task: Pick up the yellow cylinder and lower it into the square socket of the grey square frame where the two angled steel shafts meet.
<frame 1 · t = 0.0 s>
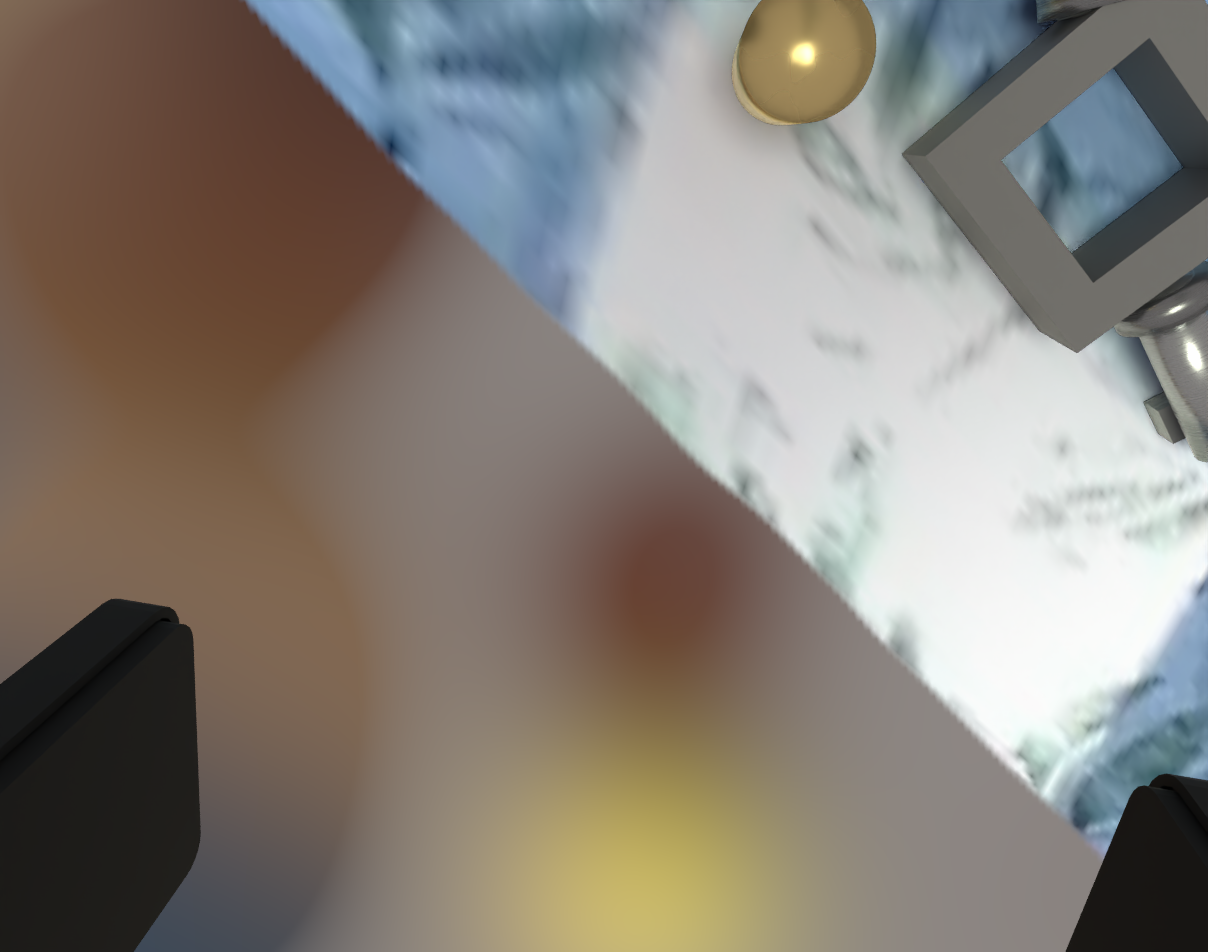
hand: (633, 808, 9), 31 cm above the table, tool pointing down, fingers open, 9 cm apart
yellow cylinder: (784, 69, 35), on the table
shaft a: (1188, 364, 35), on the table
grey square frame: (1075, 162, 35), on the table
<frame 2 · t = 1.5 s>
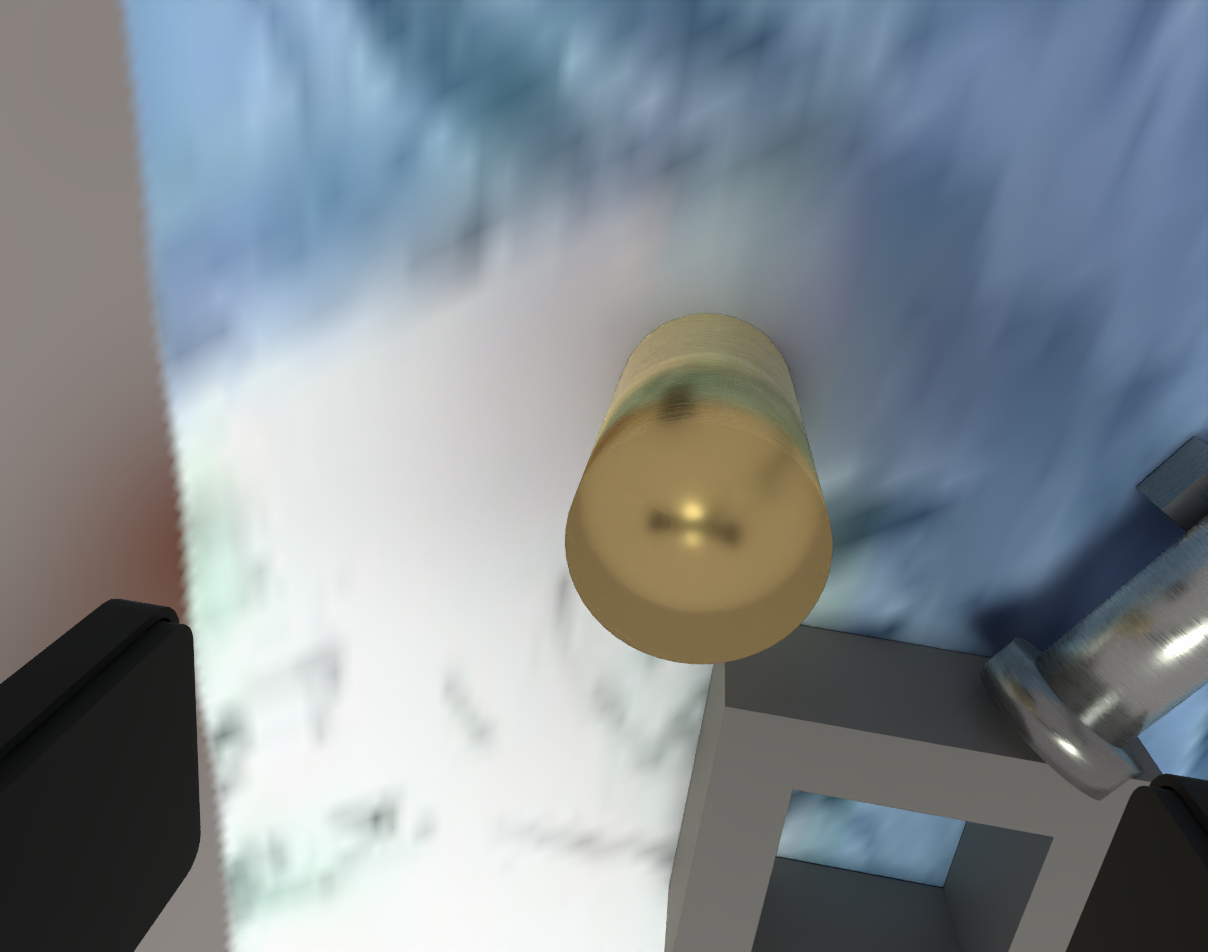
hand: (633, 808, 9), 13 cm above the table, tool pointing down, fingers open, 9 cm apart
yellow cylinder: (705, 399, 21), on the table
grey square frame: (865, 790, 25), on the table
shaft b: (1164, 618, 20), on the table
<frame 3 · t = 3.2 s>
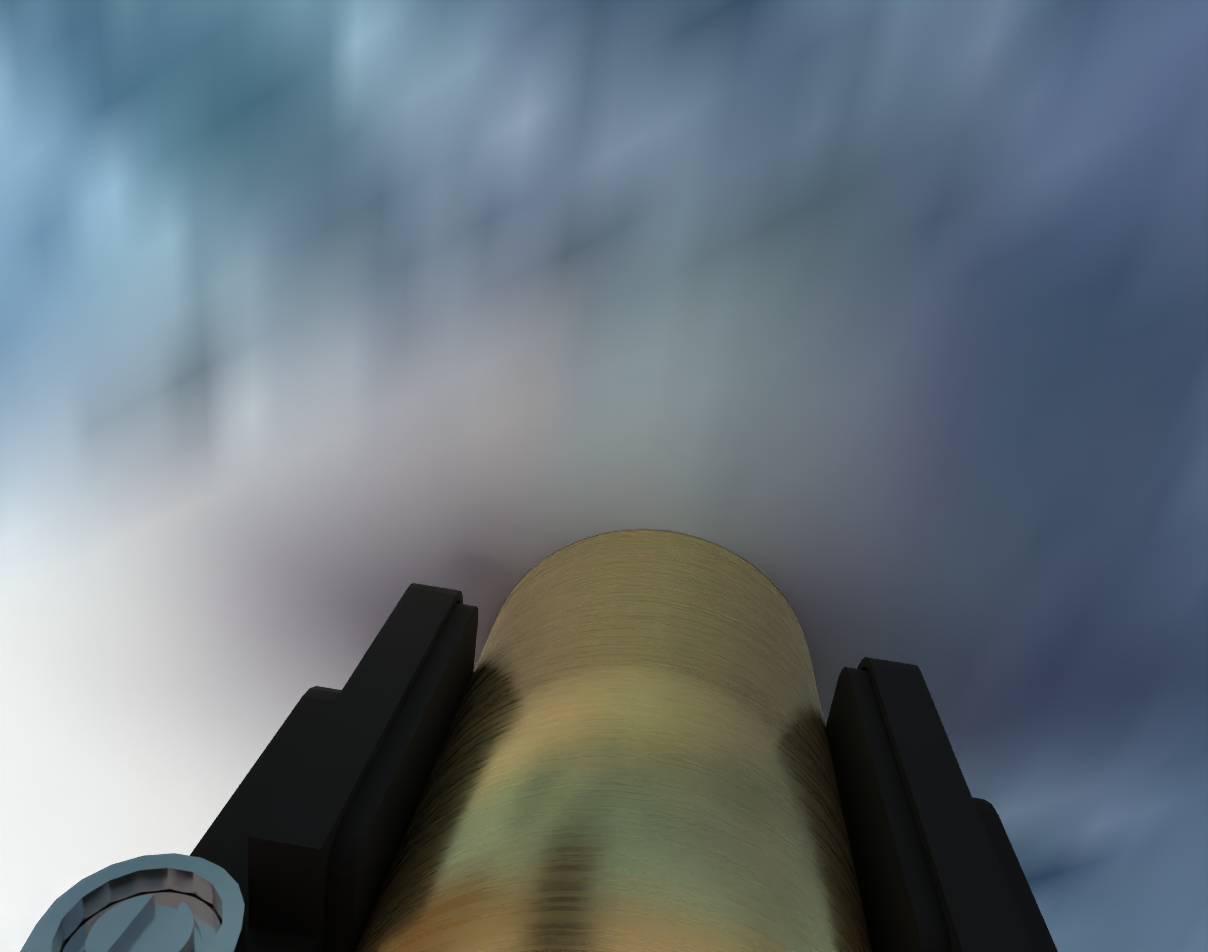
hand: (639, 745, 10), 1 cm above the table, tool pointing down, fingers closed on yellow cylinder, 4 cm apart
yellow cylinder: (646, 678, 11), on the table, touching gripper
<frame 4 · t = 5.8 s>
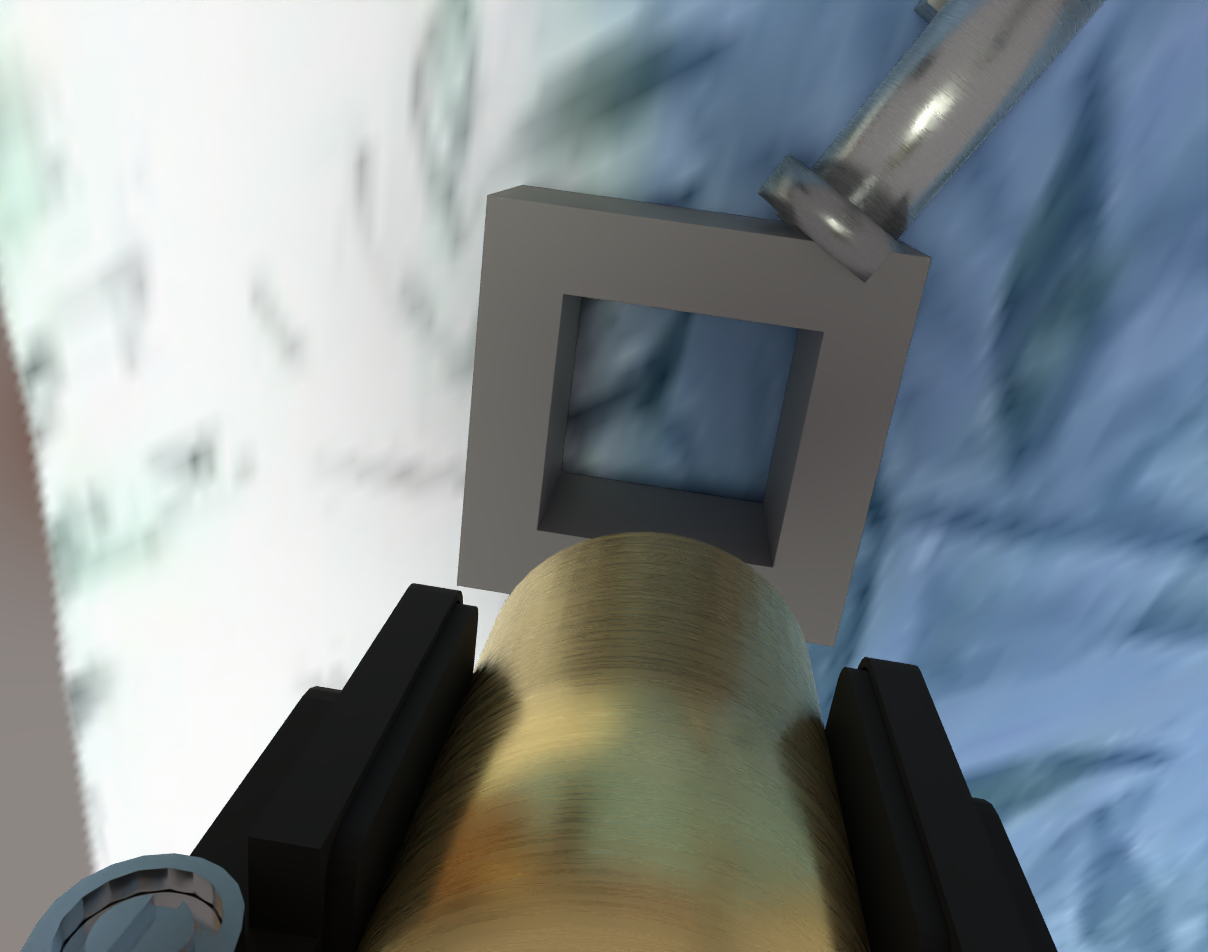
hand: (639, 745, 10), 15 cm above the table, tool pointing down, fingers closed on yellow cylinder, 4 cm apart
yellow cylinder: (646, 679, 11), point 14 cm above the table, touching gripper
grey square frame: (677, 389, 24), on the table
shaft b: (931, 108, 19), on the table
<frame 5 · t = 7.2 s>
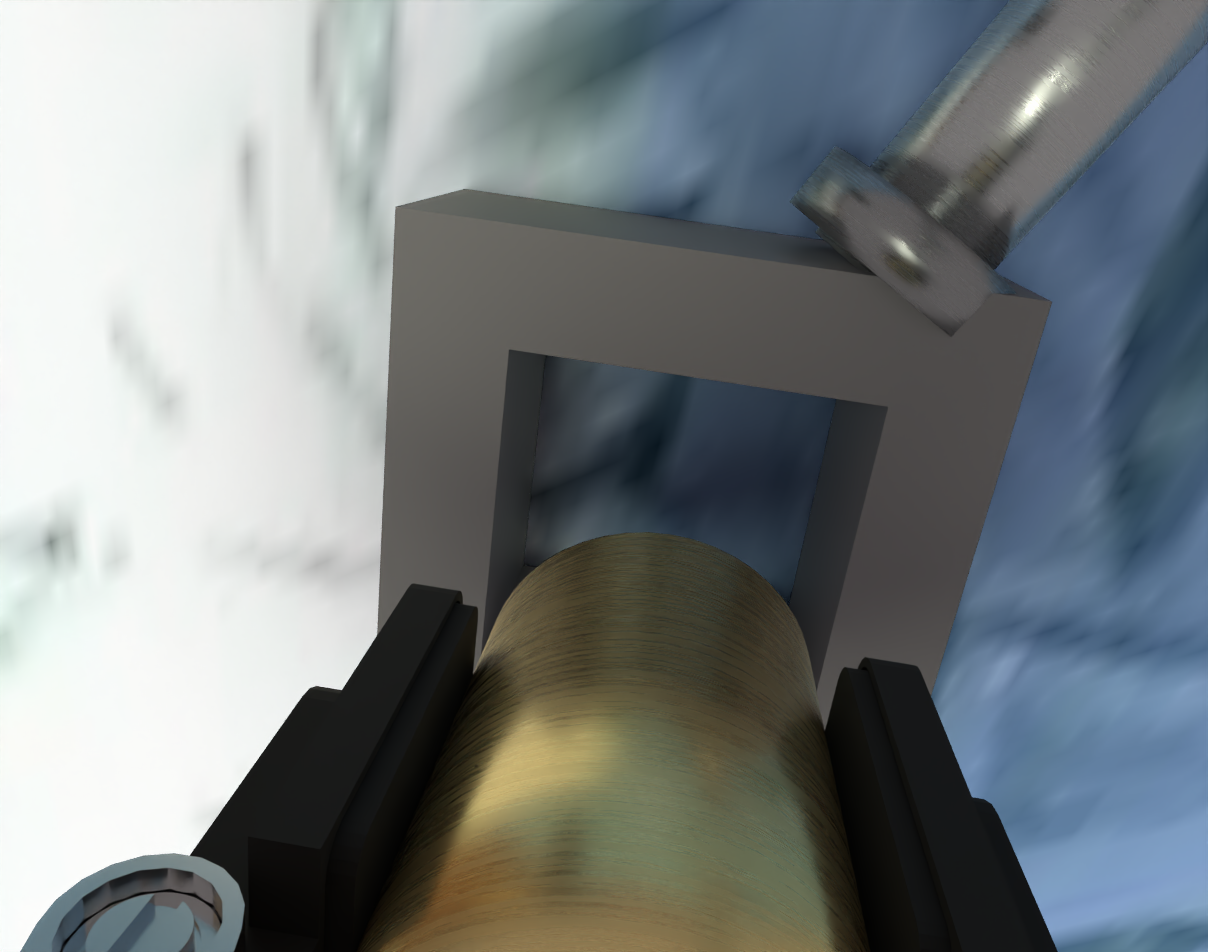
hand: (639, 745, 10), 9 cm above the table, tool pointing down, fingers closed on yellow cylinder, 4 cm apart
yellow cylinder: (646, 680, 11), point 7 cm above the table, touching gripper
grey square frame: (675, 462, 18), on the table
shaft b: (1046, 80, 13), on the table
when the fingers open (5 cm above the table, at t = 8.5 s): yellow cylinder drops 3 cm, resting in grey square frame.
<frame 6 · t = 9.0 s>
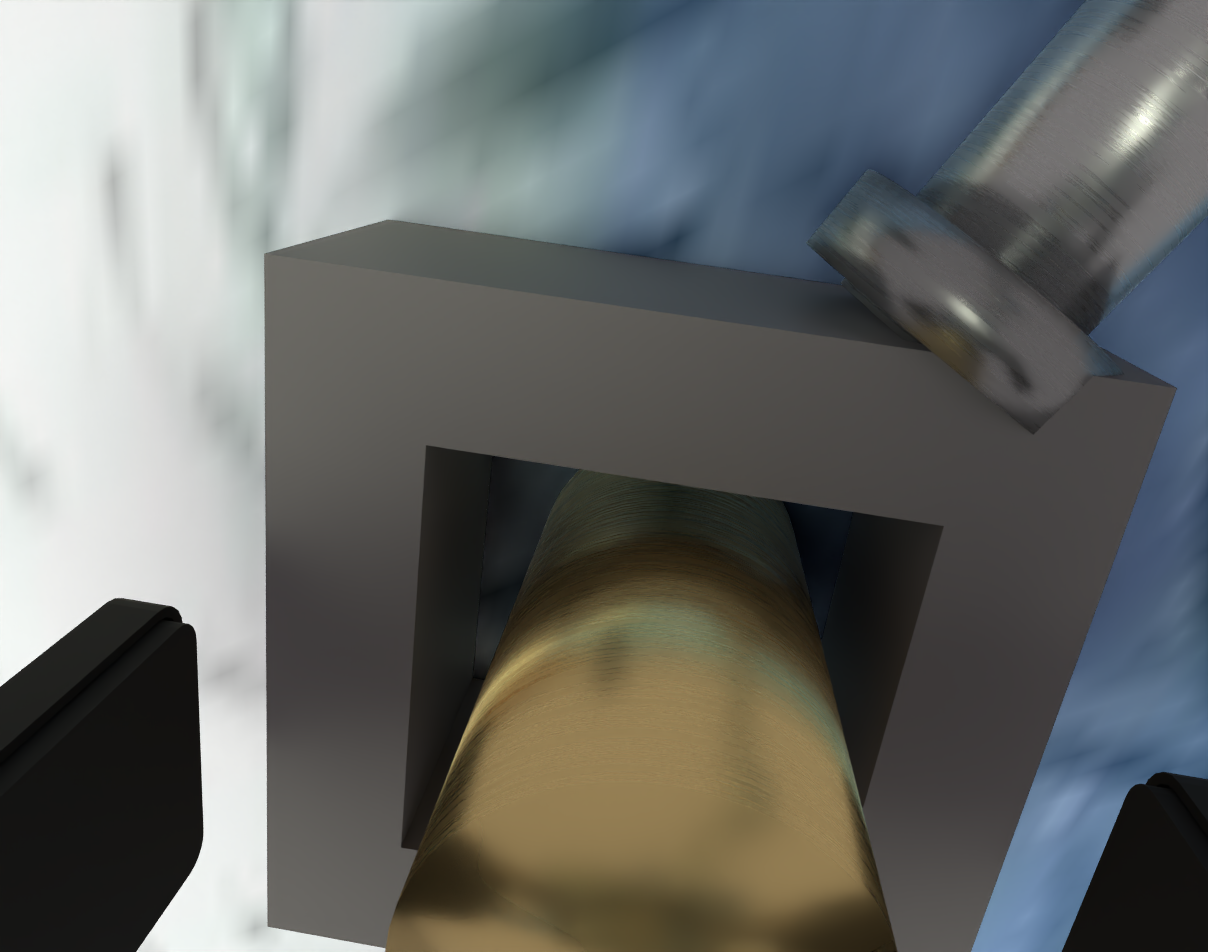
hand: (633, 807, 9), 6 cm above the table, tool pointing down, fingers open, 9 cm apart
yellow cylinder: (668, 557, 15), resting in grey square frame
grey square frame: (658, 557, 15), on the table
shaft b: (1158, 79, 10), on the table
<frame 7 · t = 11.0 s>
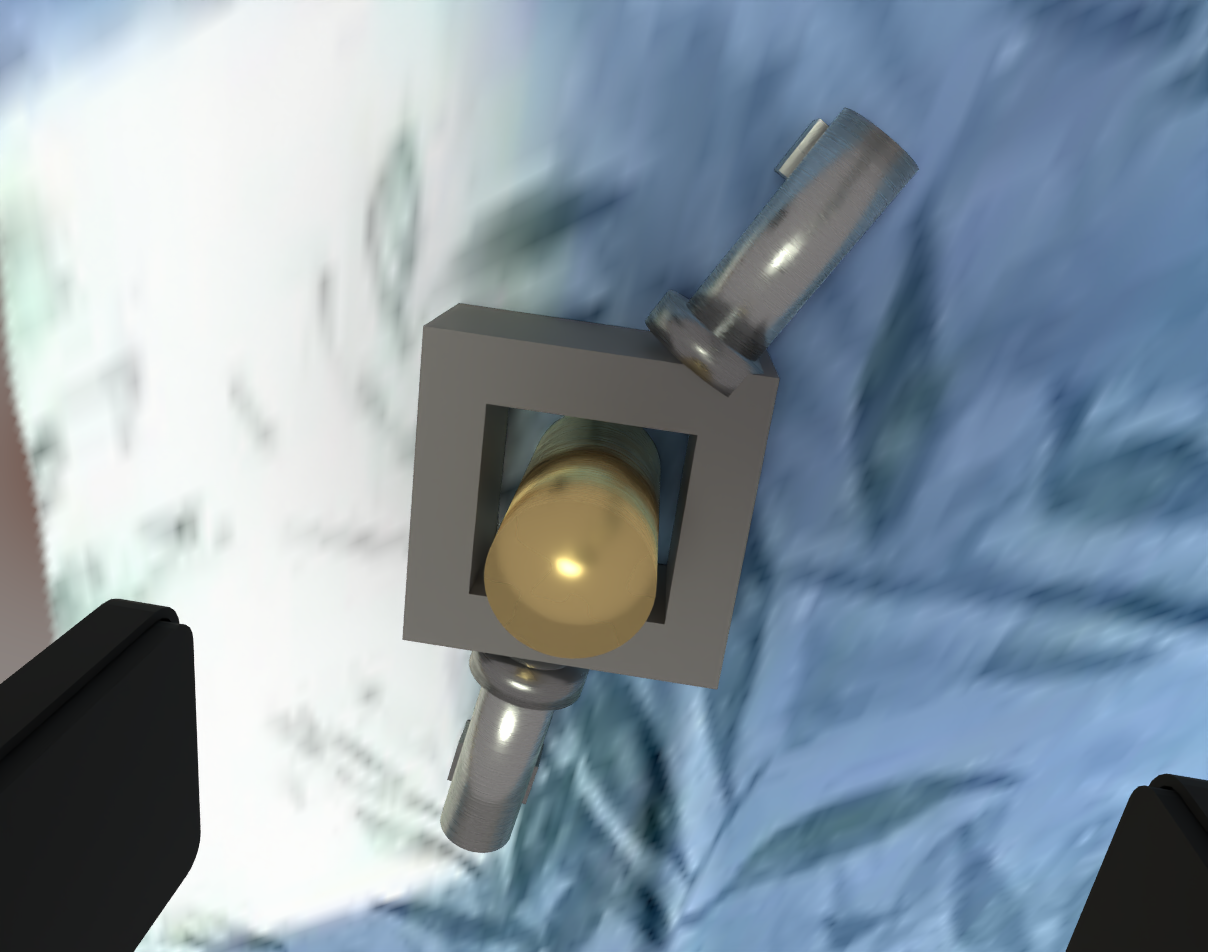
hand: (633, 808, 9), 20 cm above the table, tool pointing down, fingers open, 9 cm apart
yellow cylinder: (596, 470, 29), resting in grey square frame
shaft a: (506, 731, 30), on the table
grey square frame: (591, 470, 29), on the table
shaft b: (782, 255, 24), on the table
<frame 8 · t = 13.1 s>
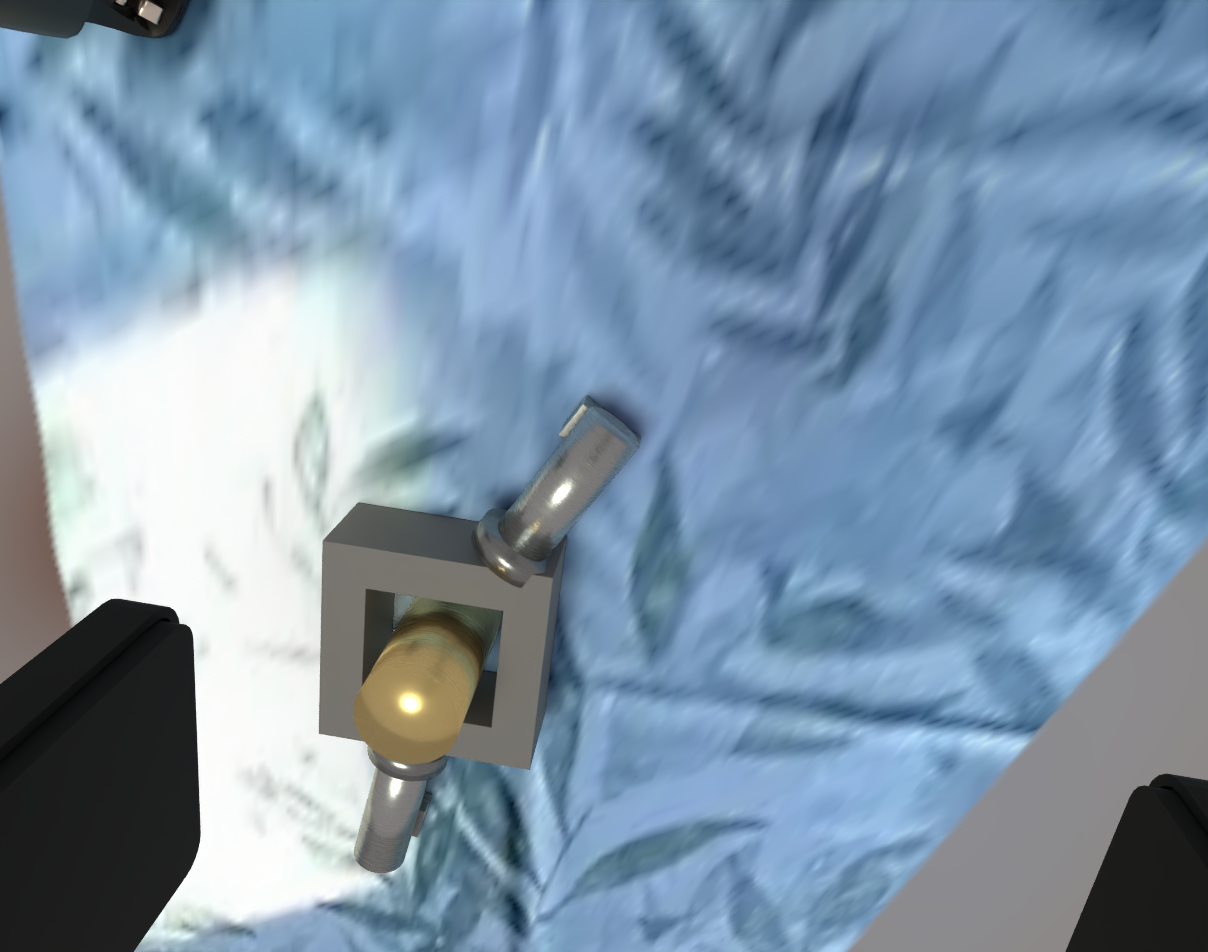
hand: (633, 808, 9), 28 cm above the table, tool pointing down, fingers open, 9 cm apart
yellow cylinder: (457, 612, 41), resting in grey square frame
shaft a: (398, 789, 42), on the table
grey square frame: (454, 612, 41), on the table
shaft b: (560, 492, 36), on the table
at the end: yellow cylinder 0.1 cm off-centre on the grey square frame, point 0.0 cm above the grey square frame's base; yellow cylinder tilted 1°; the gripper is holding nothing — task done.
